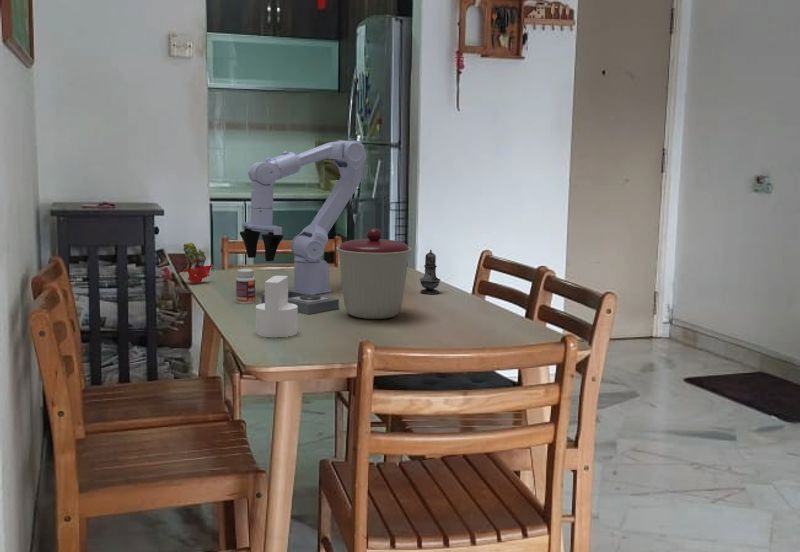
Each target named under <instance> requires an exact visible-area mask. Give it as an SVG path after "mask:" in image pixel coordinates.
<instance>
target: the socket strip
mask: <svg viewBox="0 0 800 552" xmlns="http://www.w3.org/2000/svg"><path fill="white" fill-rule="evenodd" d="M339 300H340V299H339V298H333V297H329V296H324V295H320V294H310V293H305V292H300V291H296V290H293V289H288V303H292V304H295V305H297V306H298V313H301V314H306V315H314V314H317V313H323V312H324V313H325V312H328V311H335V310H339V309H340V307H339V306H340V303H339V302H340V301H339ZM263 303H265V293H262V294H261V304H263Z"/></svg>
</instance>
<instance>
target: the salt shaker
mask: <svg viewBox="0 0 800 552" xmlns="http://www.w3.org/2000/svg"><path fill="white" fill-rule="evenodd" d="M432 251H433V250H432V249H430V250H429V252H428V253H426V254H425V257H424V258H425V264H424V265H423V267H424V275H423V277H420V278H419V281H420V285H421V287H422V288H424V289H421V290H420V292H419V293H422V294H427V295H431V294H432V295H436V294H439V293H440V291H439V290H438V289H436V288H438V287H439V285H440V282H441V279H440V278H438V277H437V273H436V270H437V267H438V265H436V264H437V263H436V261H437V259H436V258H437V257H436V256H437V255H436V254H435V253H433V252H432Z"/></svg>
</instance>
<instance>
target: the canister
mask: <svg viewBox="0 0 800 552" xmlns="http://www.w3.org/2000/svg"><path fill="white" fill-rule="evenodd" d="M382 234H383V233H382V231H381V230H380V229H379V228H369V229H368V230H367V232H366V237H367V238H360V239H350V240H347V241H344V242H342V243H341V244H340V245H337V246H336V247H335V250H336V251H337V252H338V256H339V257H338V258H339V267H340V278H341V279H340V280H341V288H342V296H343V304H344V307H345V310H346V312H347V313H348V314H349V315H351V316H352V317H355V318H358V319H359V318H360V319H366V320H381V319H382V320H383V319H384V320H385V319H389V318H393V317H395V316H397V315H398V314H399V312H401V309H402V306H403V301H404V300H403V299H404V295H405V294H404V293H405V286H406V280H407V271H408V264H409V256H410V253H411V252H412V251H413V249H412V247H410V246H408V245H407V244H406V243H405V242H402V241H399V240H393V239H387V238H386V239H384V238H382Z"/></svg>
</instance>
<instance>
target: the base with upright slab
mask: <svg viewBox="0 0 800 552" xmlns="http://www.w3.org/2000/svg"><path fill="white" fill-rule="evenodd" d="M288 290H289V276H288V275H273V276H272V277H270V278H269V279H267V280H266V281H265V282H264V294H265V303H263V304H262V303H259V304H256V305H255V334H257V335H256V336H258V335H260V336H259V337H261V336H264V337H263V338H266V337H286V338H289V337H288V336H292V335H295V334H297V335H298V333H297V332H299V331H298V323H299V321H298V320H299V319H298V317H299V316H298V315H299V314H298V313H299V312H298V306H297V305H295V304H292V303H288ZM295 336H296V335H295ZM292 337H293V336H292Z"/></svg>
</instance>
